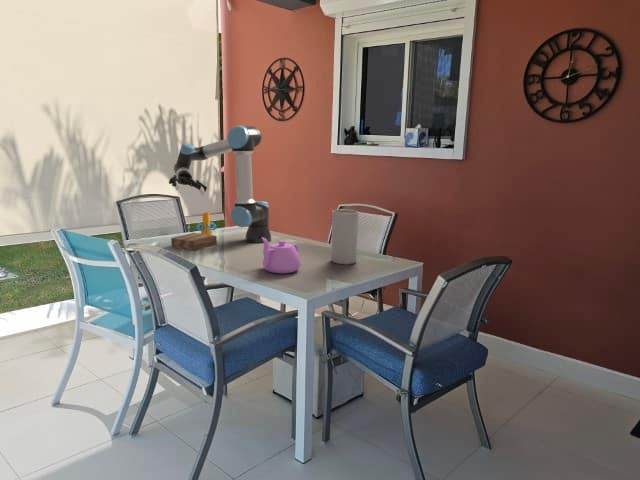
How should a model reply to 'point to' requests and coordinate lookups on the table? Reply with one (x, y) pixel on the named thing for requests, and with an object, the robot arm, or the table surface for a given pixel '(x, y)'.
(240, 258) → the table surface
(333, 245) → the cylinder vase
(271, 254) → the teapot
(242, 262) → the table surface
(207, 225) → the orange blue tall piece
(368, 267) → the table surface
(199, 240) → the walnut block
